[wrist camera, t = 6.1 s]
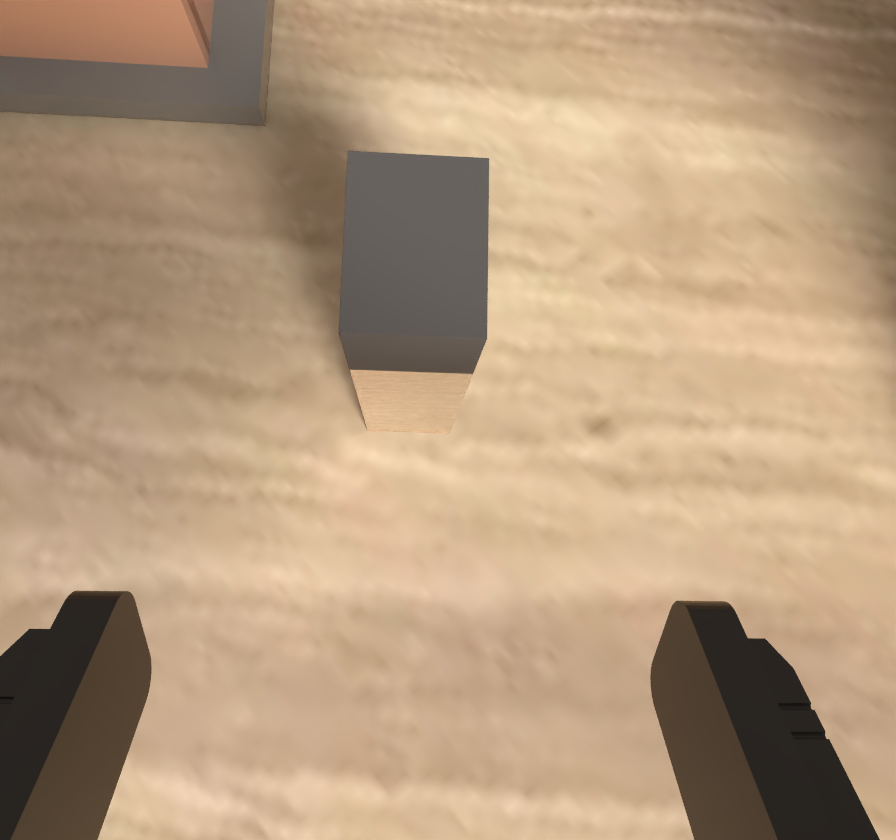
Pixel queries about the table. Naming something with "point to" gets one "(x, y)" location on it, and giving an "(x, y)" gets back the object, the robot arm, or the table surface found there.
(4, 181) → the table surface
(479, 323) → the grey block
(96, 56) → the box
